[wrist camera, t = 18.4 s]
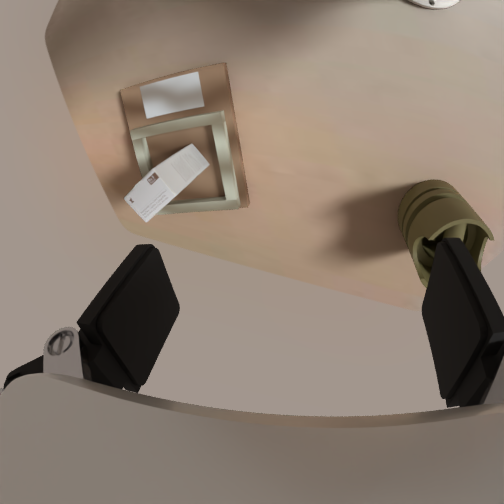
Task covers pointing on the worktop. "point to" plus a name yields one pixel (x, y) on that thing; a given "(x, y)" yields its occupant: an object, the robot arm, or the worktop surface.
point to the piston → (439, 224)
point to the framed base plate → (190, 135)
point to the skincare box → (166, 182)
